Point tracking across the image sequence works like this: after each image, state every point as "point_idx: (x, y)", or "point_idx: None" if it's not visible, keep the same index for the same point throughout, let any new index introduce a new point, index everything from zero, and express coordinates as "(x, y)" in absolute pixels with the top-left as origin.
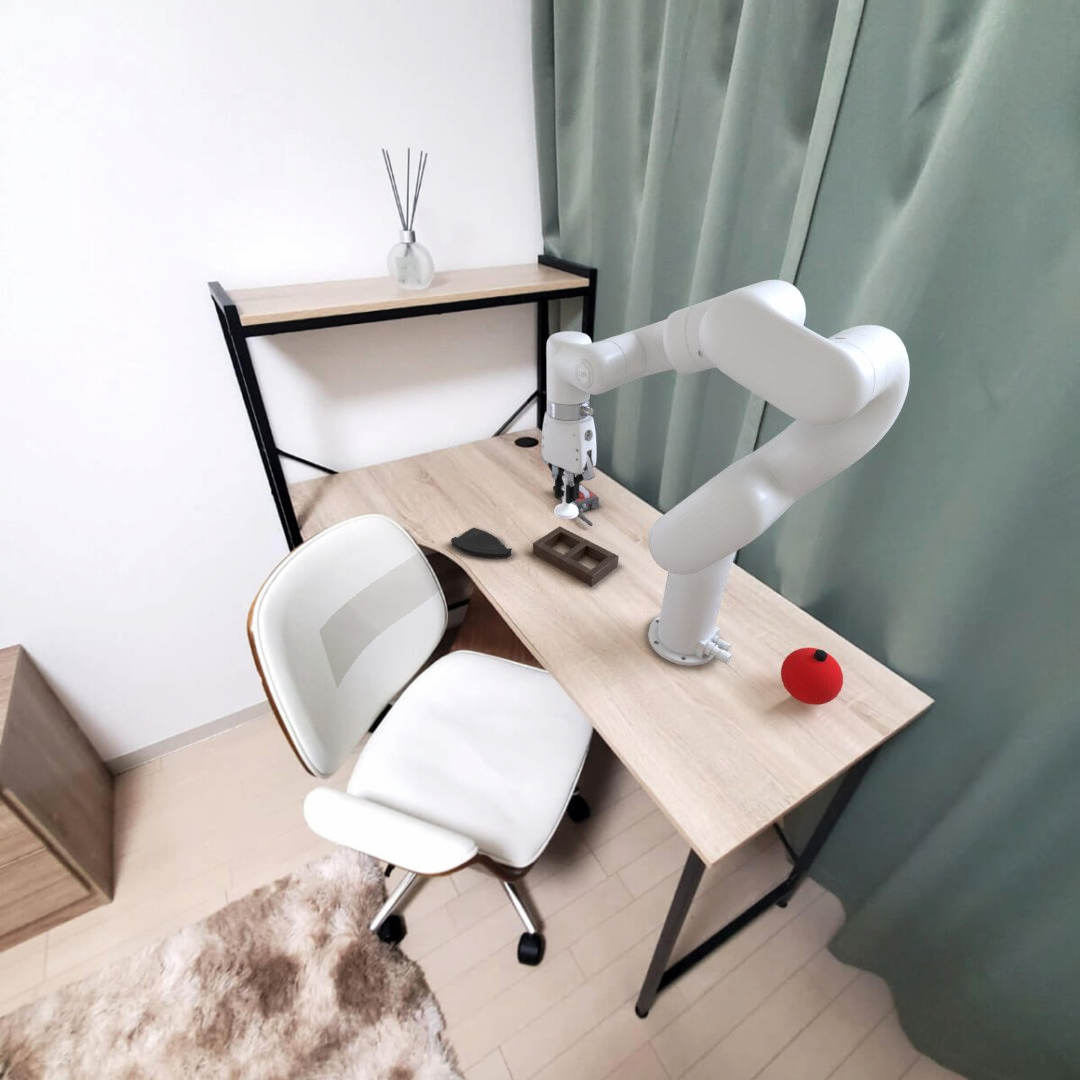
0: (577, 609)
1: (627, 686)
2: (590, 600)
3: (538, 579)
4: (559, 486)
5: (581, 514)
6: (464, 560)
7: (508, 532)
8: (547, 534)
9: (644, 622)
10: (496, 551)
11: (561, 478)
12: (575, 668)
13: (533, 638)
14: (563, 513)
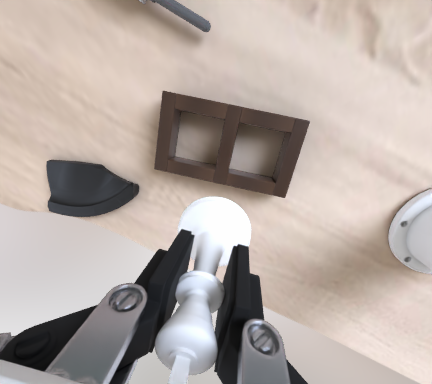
0: (279, 238)
1: (376, 313)
2: (289, 216)
3: None
4: (170, 315)
5: (171, 2)
6: (96, 224)
7: (94, 133)
8: (159, 131)
9: (377, 221)
10: (118, 200)
11: (155, 330)
12: (314, 313)
13: None
14: (219, 263)
